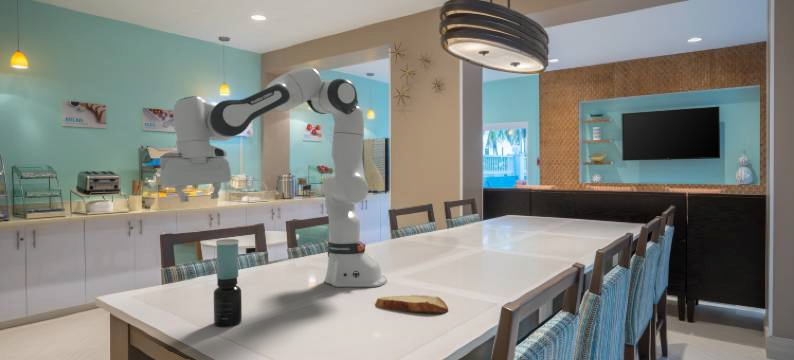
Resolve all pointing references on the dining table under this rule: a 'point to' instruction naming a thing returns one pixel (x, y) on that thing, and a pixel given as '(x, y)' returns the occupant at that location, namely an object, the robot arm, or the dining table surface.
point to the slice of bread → (413, 304)
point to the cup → (227, 258)
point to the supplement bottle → (227, 303)
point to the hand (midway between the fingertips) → (200, 200)
